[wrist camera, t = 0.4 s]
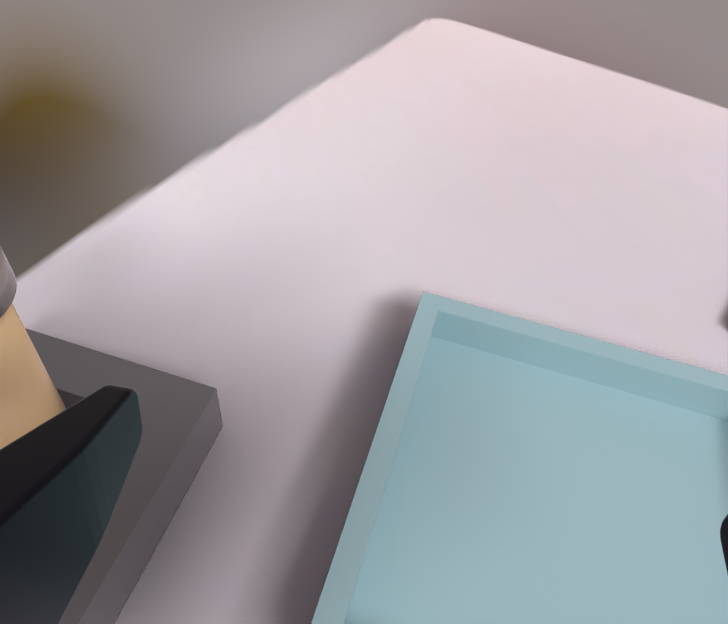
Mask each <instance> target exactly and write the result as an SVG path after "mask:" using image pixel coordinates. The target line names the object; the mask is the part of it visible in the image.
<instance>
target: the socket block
mask: <svg viewBox="0 0 728 624" xmlns="http://www.w3.org/2000/svg"><path fill="white" fill-rule="evenodd" d="M25 330H26V332H27V334H28V336H29V337H30V339H31V341H32V343H33V345H34V347H35V349H36V351H37V353H38V355H39V357H40V359H41V361H42V363H43V365H44V367H45V369H46V370H47V372H48V374H49V376H50V378H51V380H52V382H53V384H54V386H55V388H56V390H57V392H58V394H59V396H60V398H61V400H62V402H63V403H64V405H65V407H66V409H67V408H69V407H71V406H72V405H74V404H75V403H77V402H79V401H80V400H82V399H84V398H85V397H87V396H89V395H90V394H92V393H93V392H95V391H97V390H98V389H100V388H102V387H104V386H106V385H118V386H124V387H131V388H133V389H135V390H136V392H137V394H138V398H139V405H140V412H141V419H142V426H143V431H142V438H141V441H140V444H139V447H138V449H137V452H136V455H135V457H134V460H133V462H132V465H131V467H130V470H129V473H128V475H127V478H126V480H125V483H124V486H123V488H122V491H121V493H120V496H119V499H118V501H117V504H116V506H115V509H114V511H113V514H112V517H111V519H110V522H109V524H108V527H107V529H106V531H105V534H104V536H103V538H102V540H101V542H100V544H99V546H98V548H97V550H96V552H95V554H94V556H93V558H92V560H91V562H90V564H89V566H88V568H87V570H86V572H85V574H84V576H83V577H82V579H81V581H80V583H79V585H78V587H77V589H76V591H75V593H74V595H73V597H72V599H71V601H70V603H69V604H68V606H67V608H66V610H65V612H64V614H63V616H62V618H61V620H60V622H59V624H114V623H115V621H116V619H117V617H118V615H119V614H120V612H121V610H122V608H123V606H124V605H125V603H126V601H127V599H128V597H129V595H130V594H131V592H132V590H133V588H134V586H135V585H136V583H137V581H138V579H139V577H140V575H141V574H142V572H143V570H144V568H145V566H146V565H147V563H148V561H149V559H150V557H151V555H152V554H153V552H154V550H155V548H156V546H157V545H158V543H159V541H160V539H161V537H162V535H163V534H164V532H165V530H166V528H167V526H168V525H169V523H170V521H171V519H172V517H173V515H174V514H175V512H176V510H177V508H178V506H179V505H180V503H181V501H182V499H183V497H184V495H185V494H186V492H187V490H188V488H189V486H190V485H191V483H192V481H193V479H194V477H195V475H196V474H197V472H198V470H199V468H200V466H201V465H202V463H203V461H204V459H205V457H206V455H207V454H208V452H209V450H210V448H211V446H212V445H213V443H214V441H215V439H216V437H217V436H218V434H219V432H220V430H221V428H222V426H223V425H222V419H221V413H220V408H219V402H218V396H217V390H216V389H215V388H212V387H209V386H206V385H203V384H200V383H196V382H193V381H190V380H187V379H184V378H181V377H177V376H174V375H171V374H168V373H165V372H162V371H158V370H155V369H152V368H149V367H146V366H142V365H139V364H136V363H133V362H130V361H127V360H123V359H120V358H117V357H114V356H111V355H108V354H104V353H101V352H98V351H95V350H92V349H89V348H85V347H82V346H79V345H76V344H73V343H69V342H66V341H63V340H60V339H57V338H54V337H50V336H47V335H44V334H41V333H38V332H35V331H31V330H28V329H25Z"/></svg>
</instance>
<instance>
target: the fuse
mask: <svg viewBox="0 0 728 624" xmlns="http://www.w3.org/2000/svg"><path fill="white" fill-rule="evenodd" d="M16 286H17V285H16V278H15V275H14V272H13V270H12V268H11V266H10V264H9V262H8V260H7V258H6V256H5V254H4V252H3V250H2V248H1V246H0V449H2V448H3V447H5V446H7V445H8V444H10V443H12V442H13V441H15V440H17V439H18V438H20V437H21V436H23V435H25V434H26V433H28V432H30V431H31V430H33V429H35V428H36V427H38V426H39V425H41V424H43V423H44V422H46V421H48V420H49V419H51V418H53V417H54V416H56V415H57V414H59V413H61V412H62V411H64V410H66V407H65V405H64V403H63V402H62V400H61V398H60V396H59V394H58V392H57V390H56V388H55V386H54V384H53V382H52V380H51V378H50V376H49V374H48V372H47V370H46V369H45V367H44V365H43V363H42V361H41V359H40V357H39V355H38V353H37V351H36V349H35V347H34V345H33V343H32V341H31V339H30V337H29V336H28V334H27V332H26V330H25V328H24V326H23V324H22V322H21V320H20V318H19V316H18V314H17V312H16V310H15V308H14V306H13V304H12V301H13V299H14V296H15V293H16Z"/></svg>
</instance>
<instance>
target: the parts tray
mask: <svg viewBox="0 0 728 624" xmlns="http://www.w3.org/2000/svg"><path fill="white" fill-rule="evenodd" d="M727 514H728V376H727V375H723V374H720V373H716V372H712V371H709V370H705V369H701V368H698V367H694V366H691V365H687V364H683V363H680V362H676V361H673V360H669V359H665V358H662V357H658V356H654V355H651V354H647V353H644V352H640V351H636V350H633V349H629V348H625V347H622V346H618V345H615V344H611V343H607V342H604V341H600V340H597V339H593V338H589V337H586V336H582V335H578V334H575V333H571V332H568V331H564V330H560V329H557V328H553V327H550V326H546V325H542V324H539V323H535V322H531V321H528V320H524V319H521V318H517V317H513V316H510V315H506V314H502V313H499V312H495V311H492V310H488V309H484V308H481V307H477V306H474V305H470V304H466V303H463V302H459V301H455V300H452V299H448V298H445V297H441V296H437V295H434V294H430V293H426V292H423V294H422V297H421V300H420V303H419V306H418V308H417V311H416V314H415V317H414V320H413V323H412V326H411V329H410V332H409V335H408V338H407V341H406V344H405V347H404V350H403V353H402V356H401V359H400V362H399V365H398V368H397V371H396V374H395V377H394V380H393V383H392V385H391V388H390V391H389V394H388V397H387V400H386V403H385V406H384V409H383V412H382V415H381V418H380V421H379V424H378V427H377V430H376V433H375V436H374V439H373V442H372V445H371V448H370V451H369V454H368V457H367V460H366V462H365V465H364V468H363V471H362V474H361V477H360V480H359V483H358V486H357V489H356V492H355V495H354V498H353V501H352V504H351V507H350V510H349V513H348V516H347V519H346V522H345V525H344V528H343V531H342V534H341V537H340V540H339V542H338V545H337V548H336V551H335V554H334V557H333V560H332V563H331V566H330V569H329V572H328V575H327V578H326V581H325V584H324V587H323V590H322V593H321V596H320V599H319V602H318V605H317V608H316V611H315V614H314V617H313V619H312V622H311V624H728V575H727V570H726V565H725V560H724V555H723V550H722V545H721V540H720V528H721V524H722V521H723V520H724V518H725V517H726V515H727Z"/></svg>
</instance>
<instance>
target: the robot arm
mask: <svg viewBox="0 0 728 624" xmlns="http://www.w3.org/2000/svg"><path fill="white" fill-rule="evenodd" d="M142 431H143V426H142V419H141V412H140V405H139V398H138V394H137V392H136V390H135V389H133V388H131V387H124V386H118V385H106V386H104V387H102V388H100V389H98V390H97V391H95V392H93V393H92V394H90V395H89V396H87V397H85V398H84V399H82V400H80V401H79V402H77V403H75V404H74V405H72V406H71V407H69V408H67V409H66V410H64V411H62V412H61V413H59V414H57V415H56V416H54V417H53V418H51V419H49V420H48V421H46V422H44V423H43V424H41V425H39V426H38V427H36V428H35V429H33V430H31V431H30V432H28V433H26V434H25V435H23V436H21V437H20V438H18V439H17V440H15V441H13V442H12V443H10V444H8V445H7V446H5V447H3V448H2V449H0V624H59V622H60V620H61V618H62V616H63V614H64V612H65V610H66V608H67V606H68V604H69V603H70V601H71V599H72V597H73V595H74V593H75V591H76V589H77V587H78V585H79V583H80V581H81V579H82V577H83V576H84V574H85V572H86V570H87V568H88V566H89V564H90V562H91V560H92V558H93V556H94V554H95V552H96V550H97V548H98V546H99V544H100V542H101V540H102V538H103V536H104V534H105V531H106V529H107V527H108V524H109V522H110V519H111V517H112V514H113V511H114V509H115V506H116V504H117V501H118V499H119V496H120V493H121V491H122V488H123V486H124V483H125V480H126V478H127V475H128V473H129V470H130V467H131V465H132V462H133V460H134V457H135V455H136V452H137V449H138V447H139V444H140V441H141V438H142ZM720 540H721V545H722V550H723V555H724V560H725V565H726V570H727V575H728V514H727V515H726V517H725V518H724V520H723V521H722V524H721V528H720Z"/></svg>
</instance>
